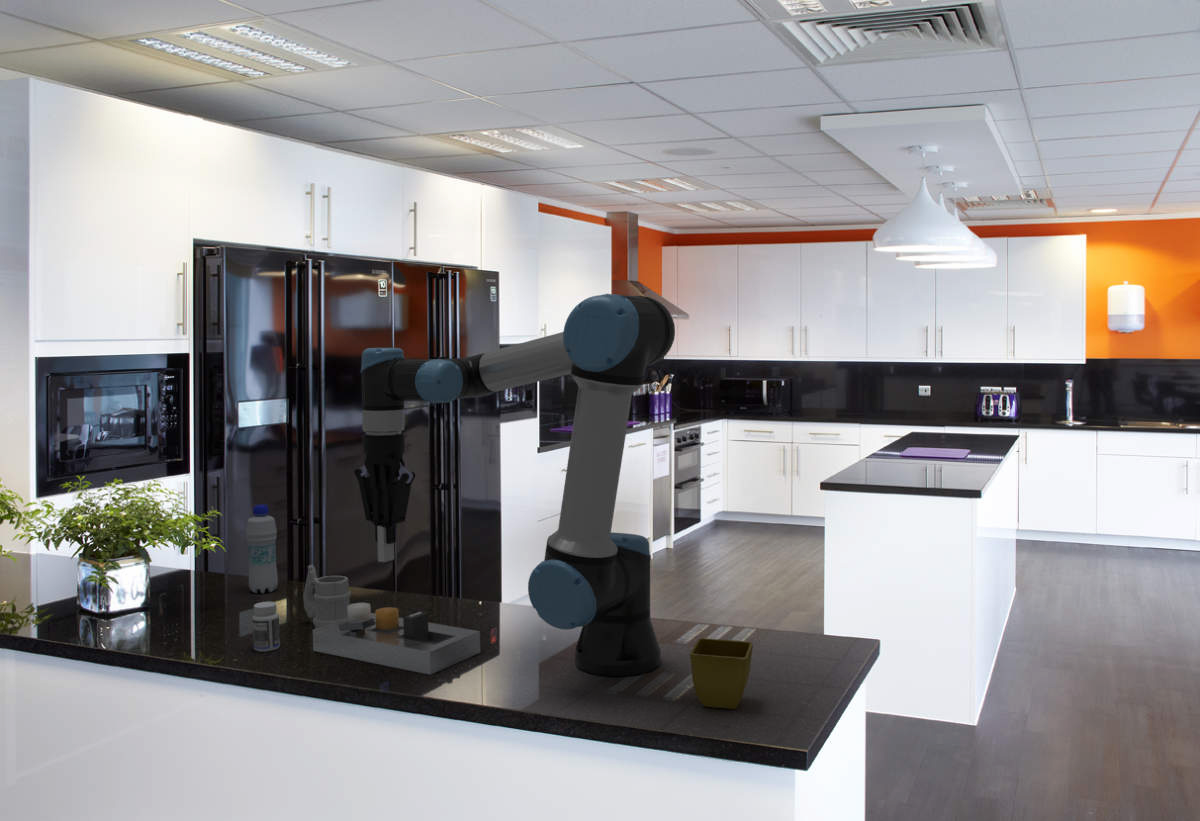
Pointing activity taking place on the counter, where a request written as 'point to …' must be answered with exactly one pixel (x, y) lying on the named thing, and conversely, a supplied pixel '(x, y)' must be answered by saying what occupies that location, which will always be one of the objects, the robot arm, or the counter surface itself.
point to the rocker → (356, 624)
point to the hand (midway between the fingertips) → (386, 560)
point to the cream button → (359, 611)
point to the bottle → (262, 550)
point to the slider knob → (416, 626)
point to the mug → (326, 598)
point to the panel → (399, 645)
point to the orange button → (387, 618)
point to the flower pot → (720, 671)
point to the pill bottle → (266, 627)
